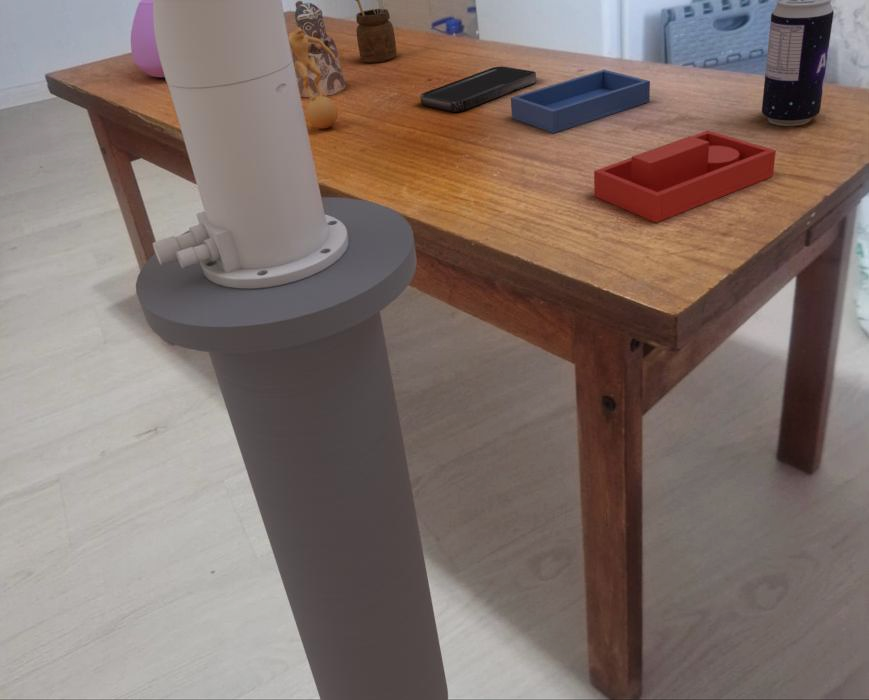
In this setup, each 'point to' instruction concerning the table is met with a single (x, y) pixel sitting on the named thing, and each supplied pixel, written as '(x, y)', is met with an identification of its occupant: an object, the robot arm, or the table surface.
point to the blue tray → (580, 100)
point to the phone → (477, 88)
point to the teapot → (145, 40)
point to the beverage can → (796, 60)
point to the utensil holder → (375, 35)
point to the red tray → (689, 194)
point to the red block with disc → (679, 163)
